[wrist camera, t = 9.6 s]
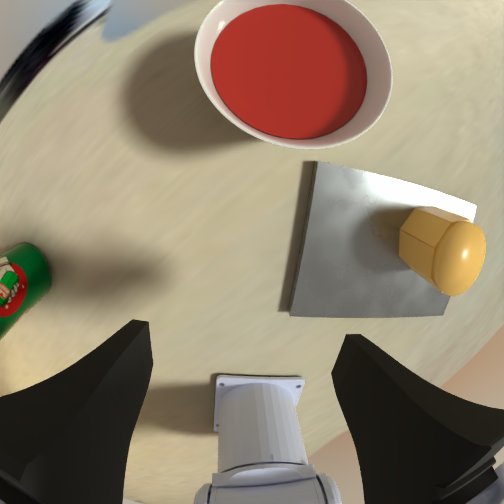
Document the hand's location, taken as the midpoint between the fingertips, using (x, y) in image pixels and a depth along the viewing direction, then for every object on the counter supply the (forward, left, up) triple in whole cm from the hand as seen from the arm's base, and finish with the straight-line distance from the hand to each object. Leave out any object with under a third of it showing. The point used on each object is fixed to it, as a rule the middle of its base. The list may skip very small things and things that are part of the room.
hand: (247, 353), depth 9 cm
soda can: (-3, +18, -10) cm, 21 cm away
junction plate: (+2, -12, -10) cm, 16 cm away
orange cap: (+3, -14, -9) cm, 17 cm away
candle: (+12, -1, -10) cm, 16 cm away
